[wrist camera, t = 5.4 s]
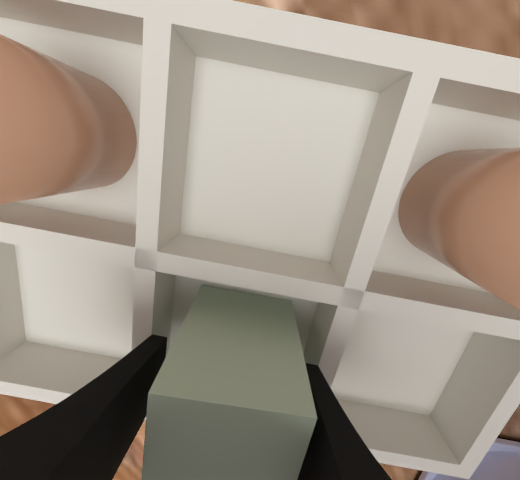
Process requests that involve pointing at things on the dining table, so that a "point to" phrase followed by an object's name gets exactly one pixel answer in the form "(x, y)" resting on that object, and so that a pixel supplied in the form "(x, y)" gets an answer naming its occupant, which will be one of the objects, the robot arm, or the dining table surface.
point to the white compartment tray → (269, 212)
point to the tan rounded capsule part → (58, 127)
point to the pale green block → (231, 394)
